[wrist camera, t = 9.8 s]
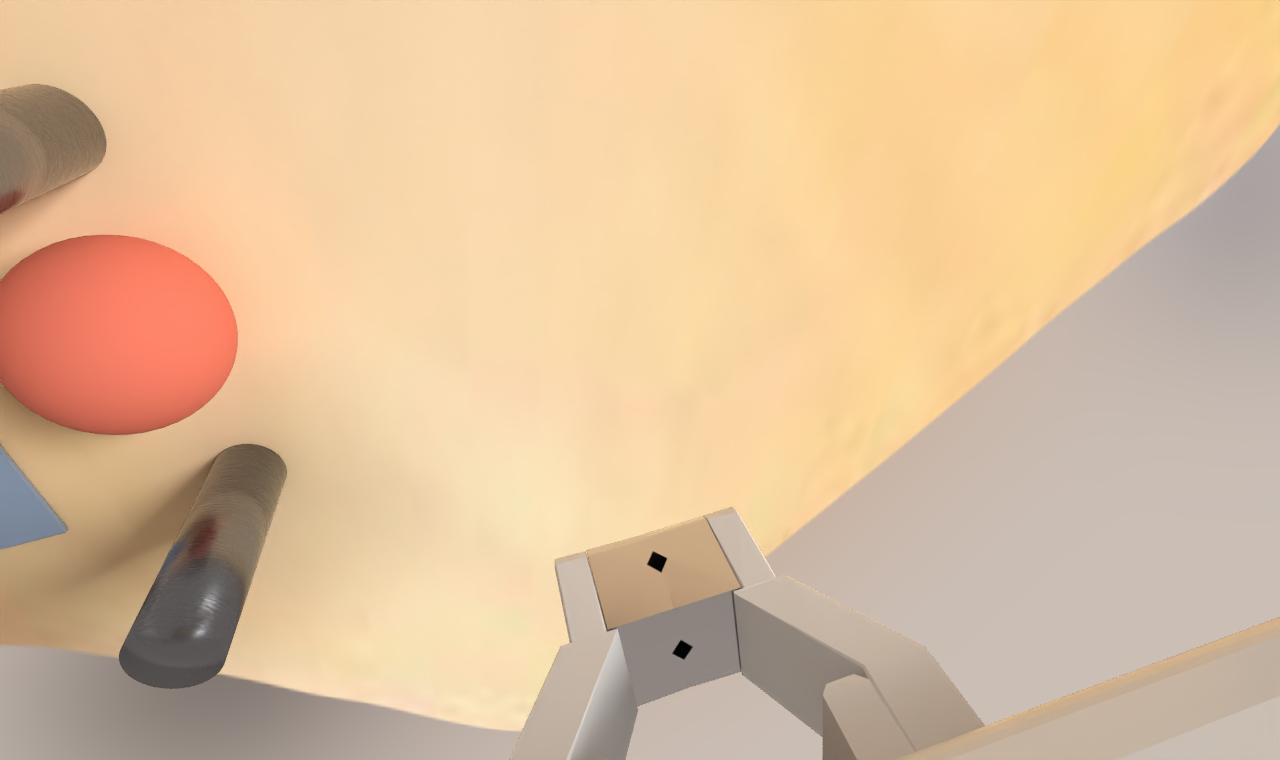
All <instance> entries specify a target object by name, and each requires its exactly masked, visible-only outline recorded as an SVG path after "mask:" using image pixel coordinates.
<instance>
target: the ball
mask: <svg viewBox="0 0 1280 760" xmlns="http://www.w3.org/2000/svg"><path fill="white" fill-rule="evenodd" d="M237 345H238V332H237V325H236V320H235V317H234V313H233V311H232V308H231V306H230V303H229V301H228V299H227V297H226V296H225V294H224V292H223V291H222V290H221V288H220V287H219V286H218V284H217V283H216V282H215V281H214V279H213V278H212V277H211V276H210V275H209V274H208V273H207V272H205V271H204V270H203V269H202V268H201V267H200V266H199V265H197V264H196V263H194V262H193V261H192V260H190V259H189V258H187V257H186V256H184V255H182V254H180V253H178V252H176V251H174V250H173V249H170V248H168V247H165V246H163V245H160V244H157V243H155V242H151V241H147V240H144V239H140V238H135V237H128V236H120V235H93V236H82V237H77V238H71V239H67V240H64V241H60V242H57V243H54V244H51V245H49V246H47V247H45V248H42V249H40V250H38V251H36V252H35V253H33V254H31V255H30V256H28V257H26V258H25V259H23V260H22V261H21V262H19V263H18V264H17V265H16V266H15V267H13V268H12V269H11V270H10V271H9V272H8V273H7V274H6V276H5V277H4V278H3V279H2V280H1V281H0V381H1V382H2V384H3V385H4V386H5V388H6V389H7V390H8V391H9V392H10V393H11V394H12V395H13V396H14V397H15V398H16V399H17V400H18V401H19V402H21V403H22V404H23V405H25V406H26V407H27V408H29V409H30V410H31V411H33V412H35V413H37V414H38V415H40V416H42V417H44V418H45V419H47V420H50V421H52V422H54V423H57V424H59V425H61V426H65V427H68V428H71V429H75V430H78V431H84V432H89V433H95V434H106V435H127V434H136V433H143V432H148V431H152V430H156V429H160V428H163V427H166V426H169V425H171V424H174V423H177V422H179V421H181V420H183V419H184V418H186V417H188V416H190V415H192V414H193V413H195V412H196V411H197V410H199V409H200V408H202V407H203V406H204V405H205V404H206V403H207V402H209V401H210V400H211V399H212V398H213V397H214V396H215V395H216V393H217V392H218V391H219V390H220V389H221V387H222V386H223V384H224V383H225V381H226V379H227V378H228V376H229V374H230V372H231V369H232V367H233V364H234V361H235V357H236V352H237Z"/></svg>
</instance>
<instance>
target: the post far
mask: <svg viewBox="0 0 1280 760" xmlns="http://www.w3.org/2000/svg"><path fill="white" fill-rule="evenodd" d="M286 475H287V470H286V466H285V463H284V462H283V460H282V459H281V458H280V456H279V455H277V454H276V453H275V452H273V451H272V450H270V449H268V448H266V447H263V446H259V445H253V444H241V445H236V446H232V447H230V448H228V449H226V450H224V451H223V452H221V453H220V454H219V455H218V456H217V458H216V459H215V461H214V463H213V465H212V467H211V469H210V471H209V473H208V475H207V477H206V479H205V481H204V483H203V485H202V487H201V489H200V491H199V493H198V495H197V497H196V499H195V501H194V503H193V505H192V507H191V509H190V511H189V513H188V515H187V517H186V519H185V521H184V523H183V525H182V527H181V529H180V531H179V533H178V535H177V537H176V539H175V541H174V543H173V545H172V548H171V550H170V552H169V554H168V556H167V558H166V560H165V562H164V564H163V566H162V568H161V570H160V572H159V574H158V576H157V578H156V580H155V582H154V584H153V586H152V588H151V590H150V592H149V594H148V596H147V598H146V600H145V602H144V604H143V606H142V608H141V610H140V612H139V614H138V616H137V618H136V620H135V622H134V624H133V626H132V628H131V630H130V632H129V634H128V636H127V638H126V640H125V642H124V644H123V646H122V648H121V650H120V654H119V661H120V664H121V666H122V668H123V670H124V671H125V672H126V673H127V674H128V675H129V676H130V677H132V678H133V679H135V680H137V681H138V682H141V683H143V684H146V685H150V686H153V687H158V688H170V689H172V688H185V687H191V686H195V685H198V684H201V683H203V682H205V681H207V680H209V679H210V678H212V677H214V676H215V675H216V674H217V673H218V672H219V671H220V670H221V669H222V667H223V665H224V663H225V660H226V657H227V654H228V651H229V648H230V645H231V642H232V639H233V636H234V633H235V630H236V627H237V624H238V621H239V618H240V615H241V612H242V609H243V606H244V603H245V600H246V597H247V594H248V591H249V588H250V585H251V582H252V579H253V576H254V573H255V570H256V567H257V564H258V561H259V558H260V555H261V552H262V549H263V546H264V543H265V540H266V537H267V534H268V531H269V528H270V524H271V521H272V518H273V515H274V512H275V509H276V506H277V503H278V500H279V497H280V494H281V491H282V488H283V485H284V482H285V479H286Z"/></svg>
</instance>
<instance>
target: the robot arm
mask: <svg viewBox="0 0 1280 760" xmlns="http://www.w3.org/2000/svg"><path fill="white" fill-rule="evenodd" d="M586 551H587V554H586ZM586 551H585V552H581V553H577V554H573V555H570V556H566V557H562V558H558V559H555V571H556V576H557V581H558V586H559V591H560V596H561V601H562V606H563V611H564V616H565V621H566V626H567V631H568V636H569V641H570V643H569V644H566V645H564V646H561V647H560V649H559V651H558V654H557V656H556V658H555V660H554V662H553V664H552V667H551V669H550V671H549V673H548V675H547V678H546V680H545V682H544V684H543V686H542V689H541V691H540V693H539V695H538V697H537V700H536V702H535V704H534V706H533V708H532V711H531V713H530V715H529V717H528V719H527V721H526V724H525V726H524V728H523V730H522V732H521V735H520V737H519V739H518V741H517V743H516V746H515V748H514V750H513V752H512V754H511V757H510V759H509V760H625V759H626V755H627V751H628V747H629V743H630V739H631V735H632V732H633V728H634V724H635V719H636V716H637V712H638V708H637V706H640V705H643V704H645V703H648V702H651V701H654V700H656V699H659V698H662V697H665V696H667V695H670V694H673V693H675V692H678V691H681V690H684V689H686V688H689V687H692V686H696V685H699V684H702V683H705V682H709V681H712V680H715V679H719V678H722V677H725V676H728V675H731V674H735V673H738V672H741V671H742V675H743V676H745V677H746V678H747V679H749V680H750V681H751V682H752V683H754V684H755V685H757V686H758V687H759V688H760V689H761V690H763V691H764V692H765V693H767V694H768V695H769V696H770V697H772V698H773V699H774V700H776V701H777V702H778V703H779V704H781V705H782V706H783V707H784V708H786V709H787V710H788V711H790V712H791V713H792V714H793V715H795V716H796V717H797V718H799V719H800V720H801V721H802V722H804V723H805V724H806V725H808V726H809V727H810V728H811V729H813V730H814V731H815V732H817V733H818V734H819V735H820V736H822V737H823V760H1280V617H1278V618H1276V619H1273V620H1270V621H1267V622H1265V623H1262V624H1259V625H1257V626H1254V627H1251V628H1249V629H1246V630H1243V631H1240V632H1238V633H1235V634H1232V635H1230V636H1227V637H1224V638H1221V639H1219V640H1216V641H1213V642H1211V643H1208V644H1205V645H1203V646H1200V647H1197V648H1194V649H1192V650H1189V651H1186V652H1184V653H1181V654H1178V655H1176V656H1173V657H1170V658H1167V659H1165V660H1162V661H1160V662H1157V663H1154V664H1151V665H1149V666H1146V667H1143V668H1141V669H1138V670H1135V671H1133V672H1130V673H1127V674H1124V675H1122V676H1119V677H1116V678H1113V679H1111V680H1108V681H1106V682H1103V683H1100V684H1097V685H1095V686H1092V687H1089V688H1086V689H1084V690H1081V691H1078V692H1076V693H1073V694H1070V695H1068V696H1065V697H1062V698H1060V699H1057V700H1054V701H1051V702H1049V703H1046V704H1043V705H1040V706H1038V707H1035V708H1032V709H1030V710H1027V711H1025V712H1022V713H1019V714H1017V715H1013V716H1011V717H1008V718H1005V719H1003V720H1000V721H997V722H995V723H992V724H989V725H987V726H985V725H984V724H983V722H982V721H981V720H980V718H979V717H978V716H977V714H976V713H975V712H974V710H973V709H972V708H971V707H970V705H969V704H968V703H967V701H966V700H965V698H964V697H963V696H962V694H961V693H960V692H959V690H958V689H957V688H956V687H955V685H954V684H953V683H952V681H951V680H950V679H949V677H948V676H947V675H946V673H945V672H944V671H943V669H942V668H941V667H940V665H939V664H938V663H937V661H936V660H935V659H934V657H933V656H932V655H931V654H930V652H929V651H928V649H927V648H926V647H925V646H923V645H920V644H919V643H917V642H915V641H913V640H911V639H909V638H907V637H905V636H903V635H901V634H899V633H897V632H895V631H893V630H891V629H889V628H887V627H886V626H884V625H881V624H880V623H877V622H876V621H874V620H872V619H870V618H868V617H866V616H864V615H862V614H860V613H858V612H856V611H854V610H852V609H850V608H848V607H846V606H844V605H843V604H841V603H839V602H837V601H835V600H833V599H831V598H829V597H827V596H825V595H823V594H821V593H819V592H817V591H815V590H813V589H811V588H809V587H808V586H806V585H804V584H802V583H800V582H798V581H796V580H794V579H792V578H790V577H788V576H786V575H784V576H781V577H776V576H775V574H774V572H773V571H772V569H771V567H770V566H769V564H768V562H767V561H766V559H765V557H764V555H763V554H762V552H761V550H760V549H759V547H758V545H757V544H756V542H755V540H754V539H753V537H752V535H751V533H750V532H749V530H748V528H747V527H746V525H745V523H744V522H743V520H742V518H741V517H740V515H739V513H738V511H737V510H736V509H734V508H733V507H730V508H726V509H723V510H720V511H717V512H714V513H710V514H707V515H704V516H703V517H698V518H695V519H691V520H688V521H685V522H682V523H678V524H675V525H672V526H669V527H665V528H662V529H659V530H656V531H652V532H649V533H646V534H644V535H640V536H637V537H633V538H629V539H626V540H622V541H618V542H615V543H611V544H607V545H604V546H600V547H596V548H593V549H589V550H586ZM587 556H588V558H587ZM588 560H589V562H588ZM589 564H590V565H589ZM590 568H591V569H590ZM591 571H592V573H591ZM592 575H593V576H592ZM593 579H594V580H593ZM594 583H595V584H594ZM596 590H597V591H596ZM597 594H598V595H597Z"/></svg>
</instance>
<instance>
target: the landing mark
mask: <svg viewBox="0 0 1280 760" xmlns="http://www.w3.org/2000/svg"><path fill="white" fill-rule="evenodd" d="M67 530H68V528H67V527H66V526H65V524H64V523H63V522H62V521H61V519H60V518H59V517H58V516H57V515H56V513H55V512H54V511H53V510H52V508H51V507H50V506H49V505H48V503H47V502H46V501H45V500H44V499H43V497H42V496H41V495H40V494H39V492H38V491H37V490H36V489H35V487H34V486H33V485H32V484H31V483H30V481H29V480H28V479H27V478H26V476H25V475H24V474H23V473H22V471H21V470H20V469H19V468H18V467H17V465H16V464H15V463H14V462H13V460H12V459H11V458H10V457H9V455H8V454H7V453H6V452H5V451H4V449H3V448H2V447H1V446H0V549H4V548H8V547H12V546H16V545H19V544H23V543H27V542H31V541H35V540H39V539H42V538H46V537H50V536H54V535H58V534H61V533H65V532H66V531H67Z"/></svg>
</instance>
